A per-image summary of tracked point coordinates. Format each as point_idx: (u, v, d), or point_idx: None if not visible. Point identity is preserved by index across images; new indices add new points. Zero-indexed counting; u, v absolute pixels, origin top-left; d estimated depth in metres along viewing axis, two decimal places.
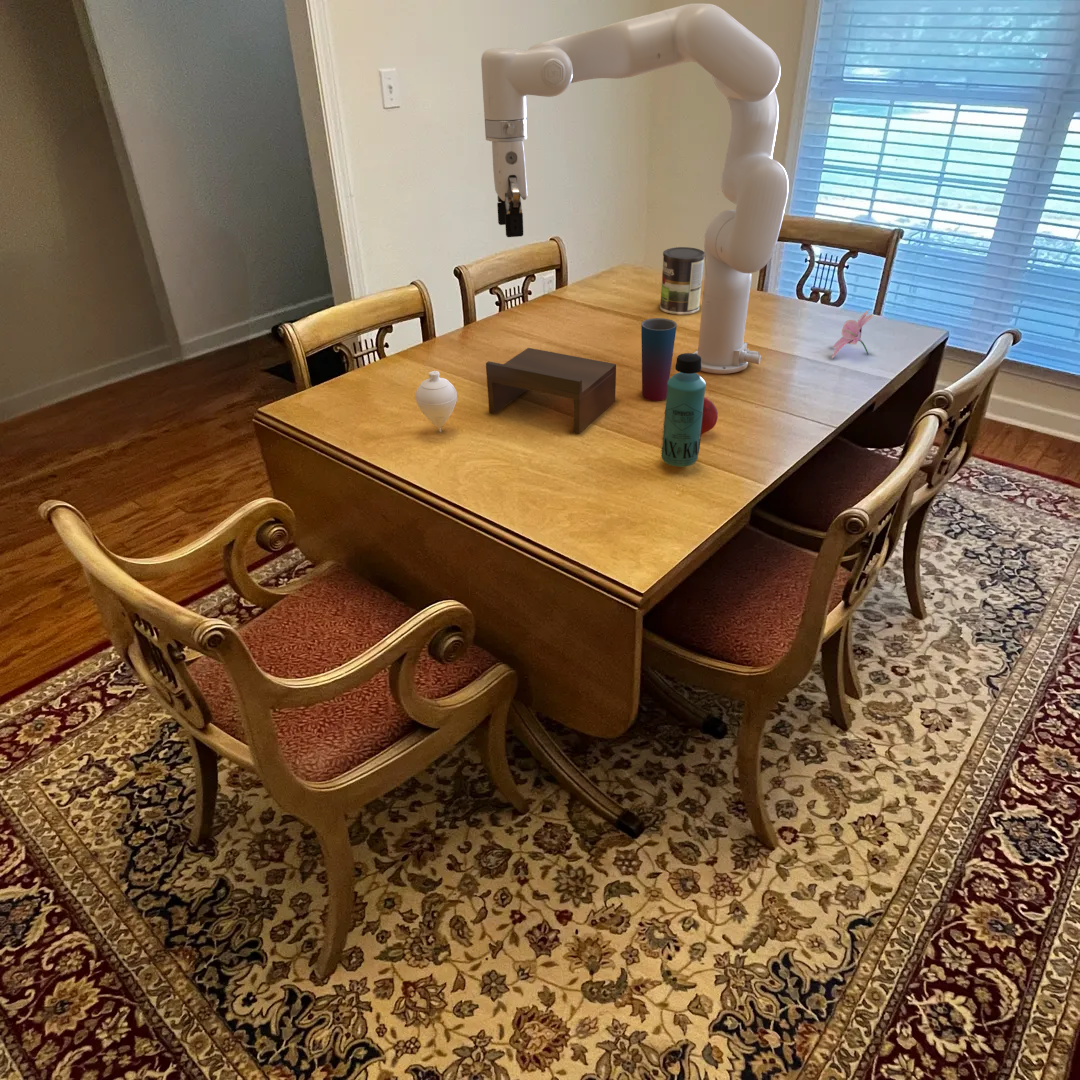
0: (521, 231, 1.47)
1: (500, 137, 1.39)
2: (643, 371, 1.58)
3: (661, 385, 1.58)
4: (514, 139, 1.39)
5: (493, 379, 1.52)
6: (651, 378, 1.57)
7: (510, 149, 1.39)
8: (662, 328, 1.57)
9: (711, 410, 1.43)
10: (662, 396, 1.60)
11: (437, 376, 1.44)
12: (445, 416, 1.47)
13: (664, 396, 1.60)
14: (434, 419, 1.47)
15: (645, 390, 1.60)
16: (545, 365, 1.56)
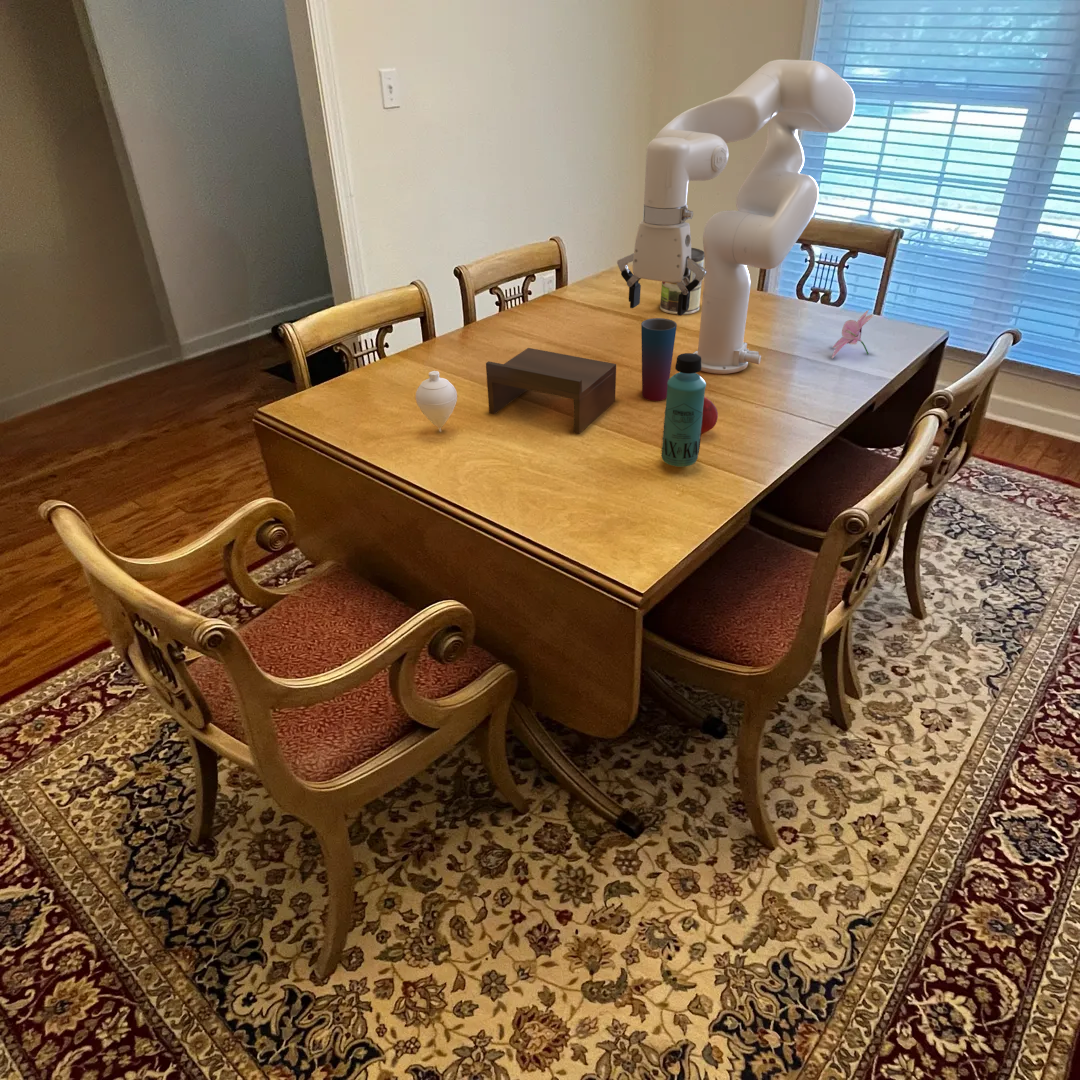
0: None
1: (678, 223, 1.40)
2: (643, 371, 1.58)
3: (661, 385, 1.58)
4: (684, 222, 1.42)
5: (493, 379, 1.52)
6: (651, 378, 1.57)
7: (687, 232, 1.42)
8: (662, 328, 1.57)
9: (711, 410, 1.43)
10: (662, 396, 1.60)
11: (437, 376, 1.44)
12: (445, 416, 1.47)
13: (664, 396, 1.60)
14: (434, 419, 1.47)
15: (645, 390, 1.60)
16: (545, 365, 1.56)
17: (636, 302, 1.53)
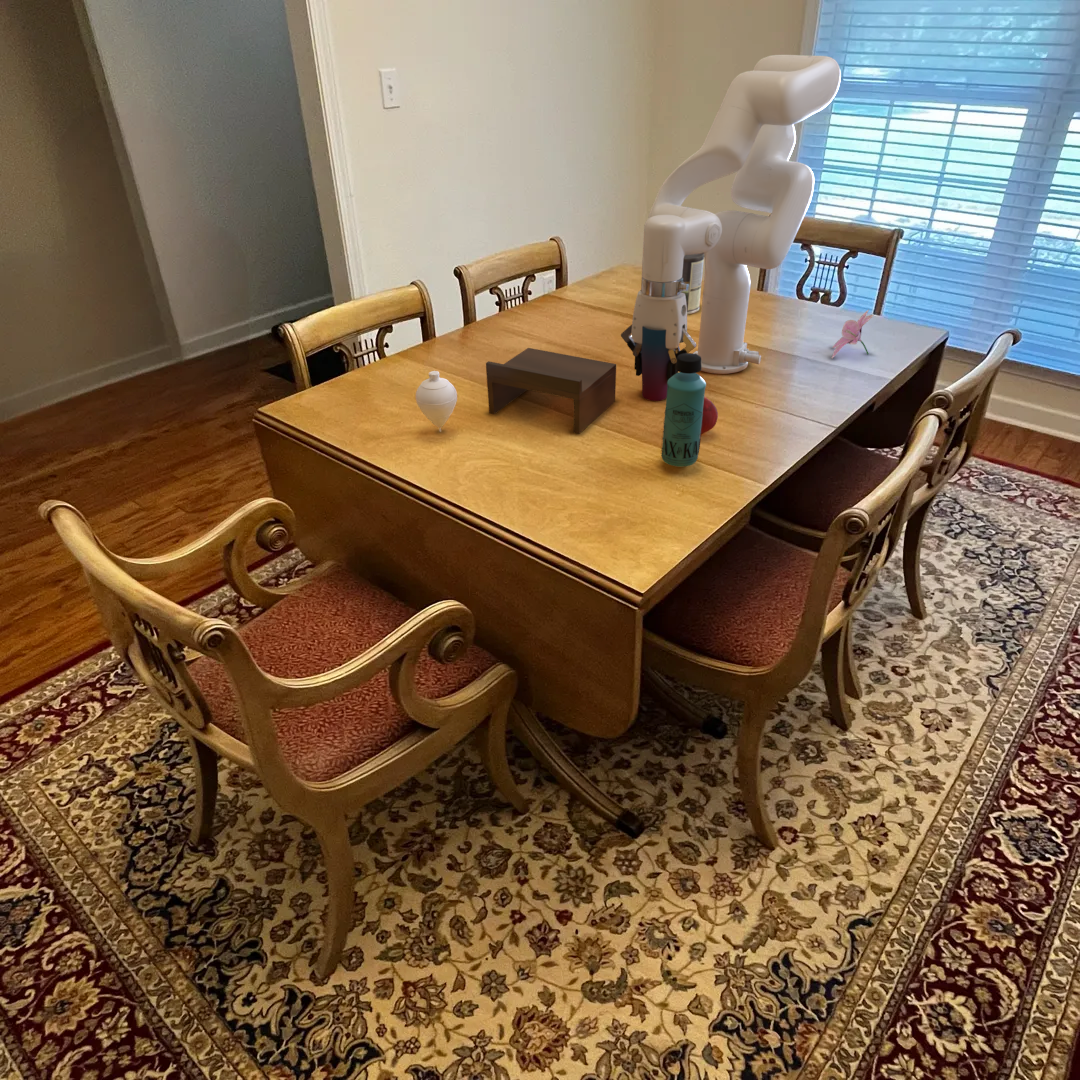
0: None
1: (674, 295, 1.47)
2: (643, 371, 1.58)
3: (661, 385, 1.58)
4: (680, 293, 1.49)
5: (493, 379, 1.52)
6: (651, 378, 1.57)
7: (683, 303, 1.49)
8: None
9: (711, 410, 1.43)
10: (662, 396, 1.60)
11: (437, 376, 1.44)
12: (445, 416, 1.47)
13: (664, 396, 1.60)
14: (434, 419, 1.47)
15: (645, 390, 1.60)
16: (545, 365, 1.56)
17: (641, 370, 1.60)
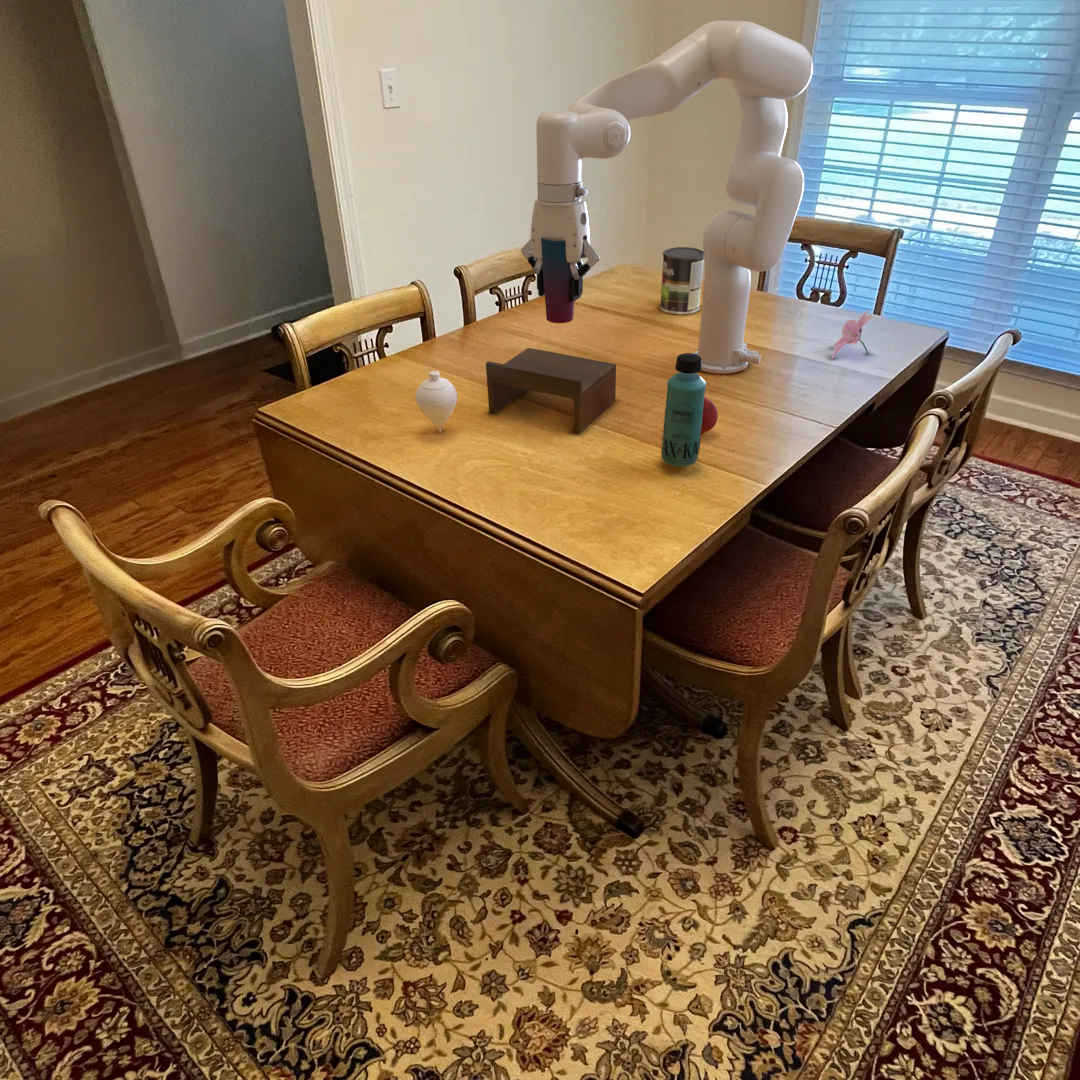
0: None
1: (572, 200, 1.35)
2: (545, 290, 1.46)
3: (564, 305, 1.46)
4: (580, 200, 1.37)
5: (493, 379, 1.52)
6: (553, 297, 1.45)
7: (582, 210, 1.37)
8: None
9: (711, 410, 1.43)
10: (567, 318, 1.47)
11: (437, 376, 1.44)
12: (445, 416, 1.47)
13: (569, 318, 1.48)
14: (434, 419, 1.47)
15: (548, 311, 1.47)
16: (545, 365, 1.56)
17: None
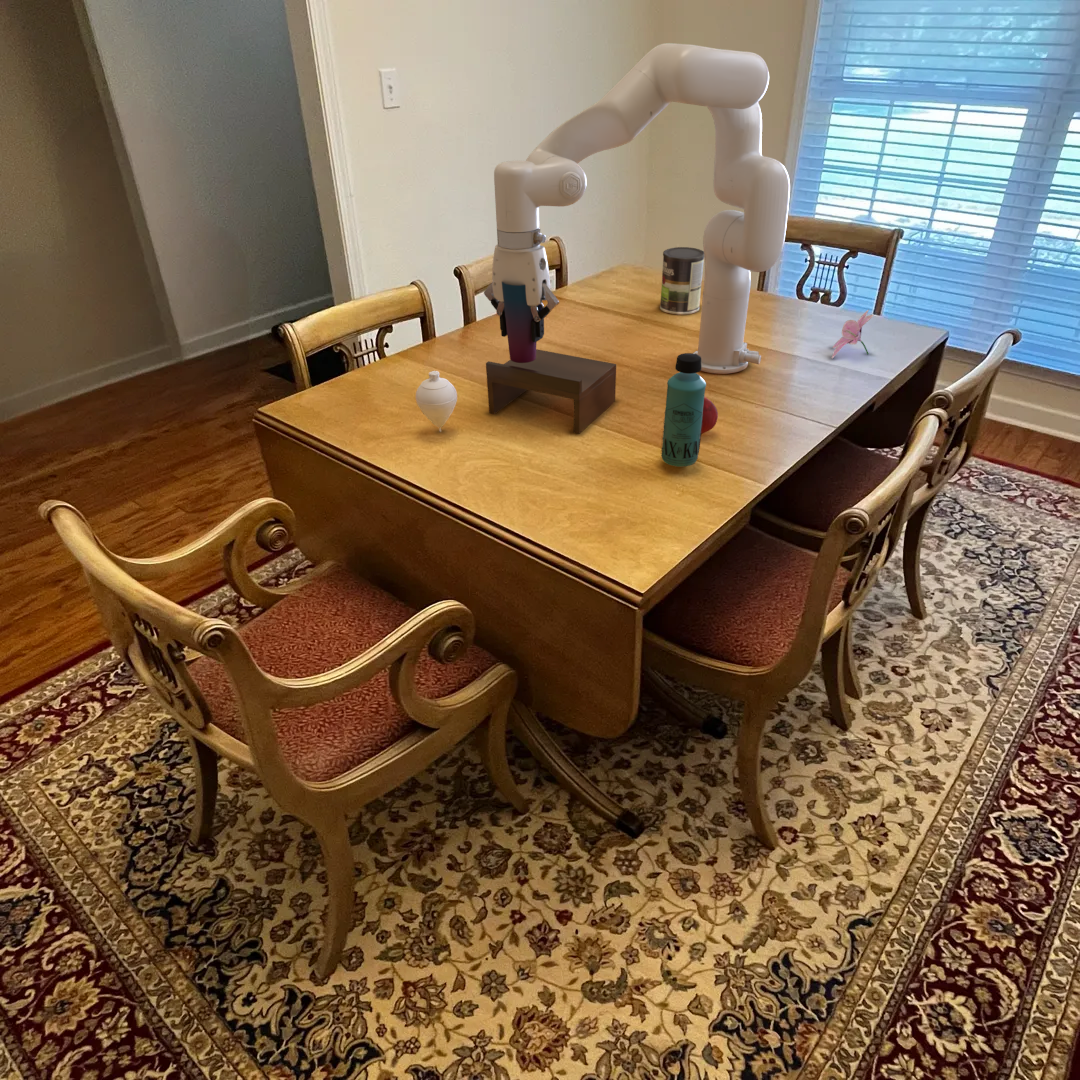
0: None
1: (530, 247, 1.38)
2: (507, 331, 1.49)
3: (526, 346, 1.49)
4: (539, 246, 1.40)
5: (493, 379, 1.52)
6: (515, 338, 1.48)
7: (541, 256, 1.40)
8: None
9: (711, 410, 1.43)
10: (529, 358, 1.51)
11: (437, 376, 1.44)
12: (445, 416, 1.47)
13: (531, 358, 1.51)
14: (434, 419, 1.47)
15: (511, 351, 1.51)
16: (545, 365, 1.56)
17: None
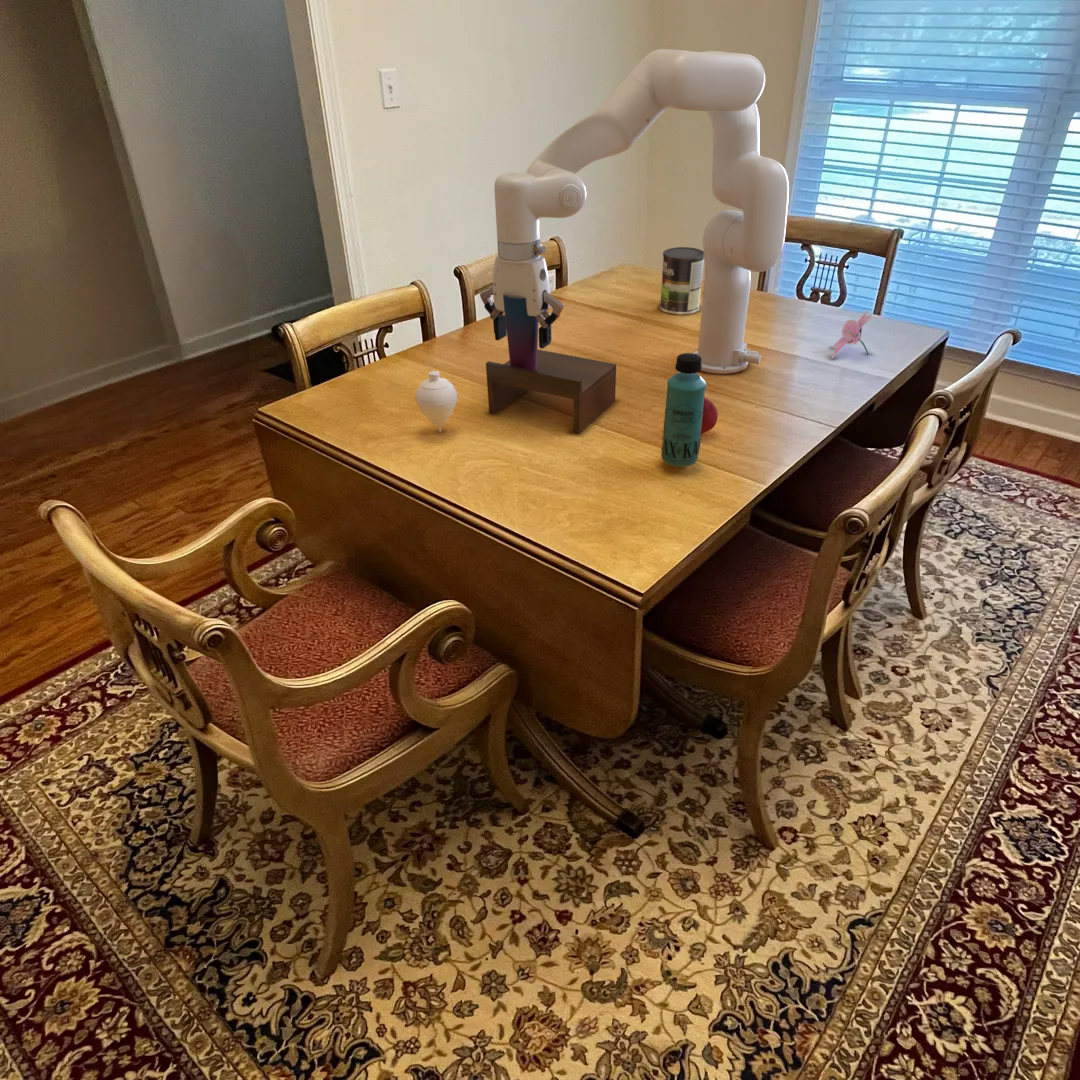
0: None
1: (530, 258, 1.39)
2: (508, 343, 1.50)
3: (527, 358, 1.50)
4: (539, 257, 1.41)
5: (493, 379, 1.52)
6: (516, 350, 1.50)
7: (541, 267, 1.41)
8: None
9: (711, 410, 1.43)
10: (530, 369, 1.52)
11: (437, 376, 1.44)
12: (445, 416, 1.47)
13: (532, 369, 1.52)
14: (434, 419, 1.47)
15: (512, 363, 1.52)
16: (545, 365, 1.56)
17: (502, 334, 1.52)
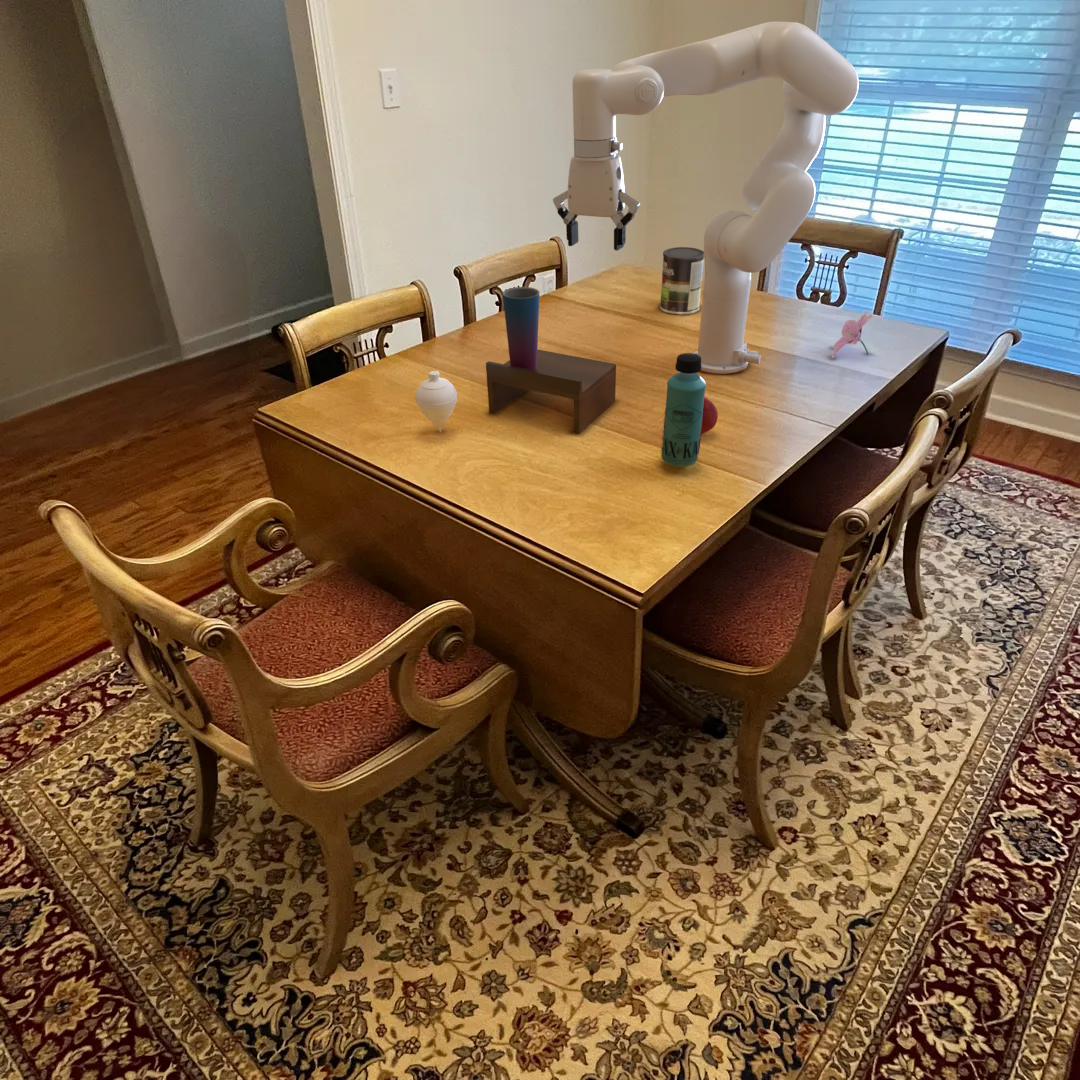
0: None
1: (608, 155, 1.41)
2: (508, 343, 1.50)
3: (527, 358, 1.50)
4: (615, 155, 1.43)
5: (493, 379, 1.52)
6: (516, 350, 1.50)
7: (618, 165, 1.43)
8: (527, 297, 1.49)
9: (711, 410, 1.43)
10: (530, 369, 1.52)
11: (437, 376, 1.44)
12: (445, 416, 1.47)
13: (532, 369, 1.52)
14: (434, 419, 1.47)
15: (512, 363, 1.52)
16: (545, 365, 1.56)
17: (574, 240, 1.54)
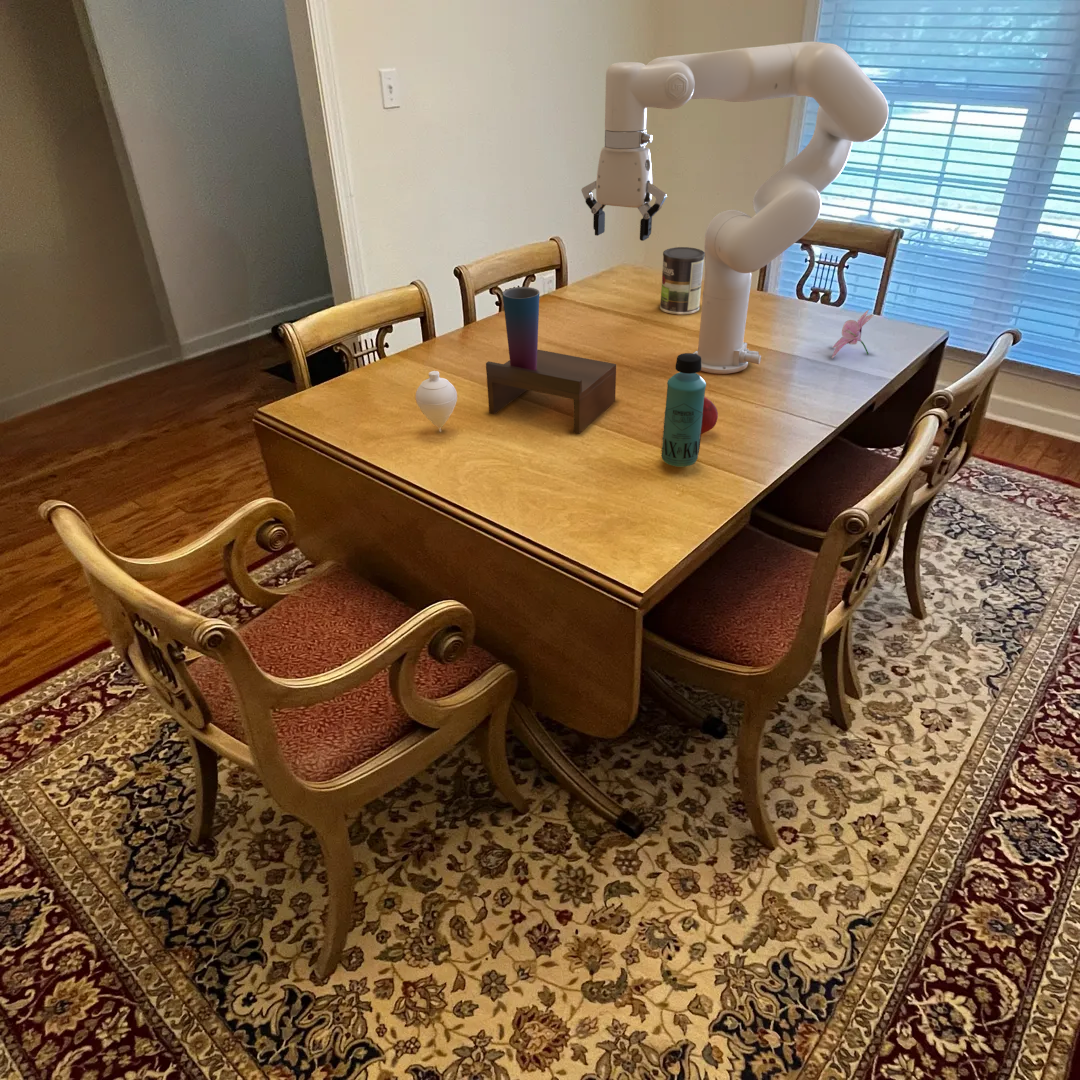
0: None
1: (638, 146, 1.45)
2: (508, 343, 1.50)
3: (527, 358, 1.50)
4: (644, 147, 1.47)
5: (493, 379, 1.52)
6: (516, 350, 1.50)
7: (647, 156, 1.46)
8: (527, 297, 1.49)
9: (711, 410, 1.43)
10: (530, 369, 1.52)
11: (437, 376, 1.44)
12: (445, 416, 1.47)
13: (532, 369, 1.52)
14: (434, 419, 1.47)
15: (512, 363, 1.52)
16: (545, 365, 1.56)
17: (601, 230, 1.58)
